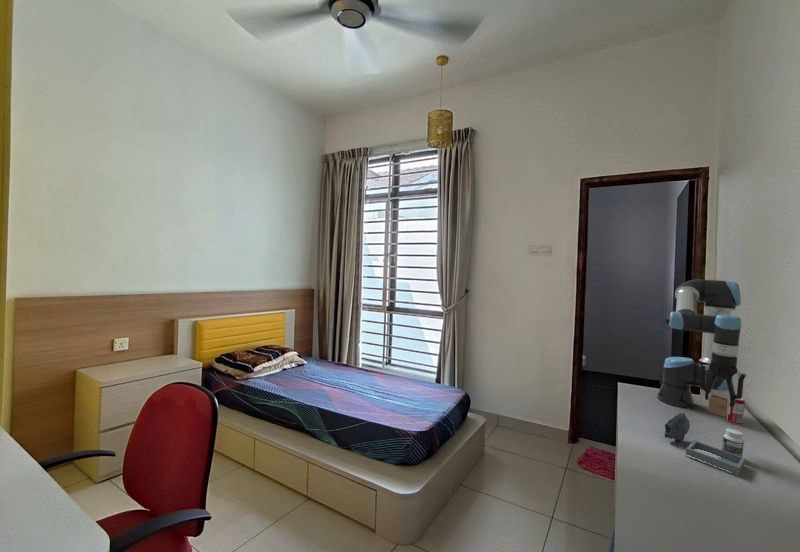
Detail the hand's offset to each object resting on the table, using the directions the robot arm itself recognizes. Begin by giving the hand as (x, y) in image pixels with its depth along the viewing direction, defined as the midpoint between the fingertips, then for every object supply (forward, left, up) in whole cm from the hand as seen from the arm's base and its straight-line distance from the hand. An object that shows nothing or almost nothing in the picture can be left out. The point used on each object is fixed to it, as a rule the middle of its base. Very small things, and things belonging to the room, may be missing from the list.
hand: (718, 410), depth 143 cm
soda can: (-35, 0, -14) cm, 37 cm away
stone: (+9, -11, -14) cm, 20 cm away
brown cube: (0, 0, -1) cm, 1 cm away
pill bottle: (+6, +6, -14) cm, 17 cm away
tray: (+16, +3, -14) cm, 22 cm away
